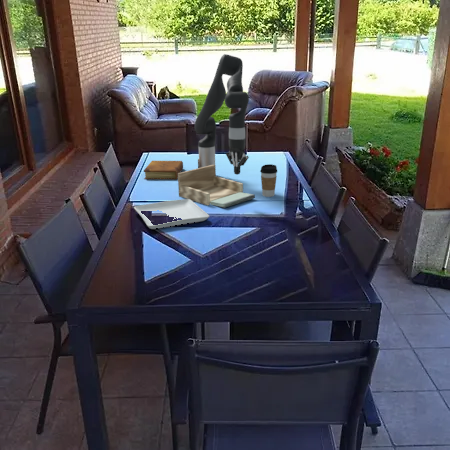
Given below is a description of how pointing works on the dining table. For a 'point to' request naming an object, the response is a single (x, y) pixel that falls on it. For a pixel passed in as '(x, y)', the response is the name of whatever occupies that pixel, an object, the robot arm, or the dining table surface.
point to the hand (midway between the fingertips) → (237, 174)
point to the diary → (163, 169)
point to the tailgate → (232, 199)
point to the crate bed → (206, 185)
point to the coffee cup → (268, 179)
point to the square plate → (174, 212)
